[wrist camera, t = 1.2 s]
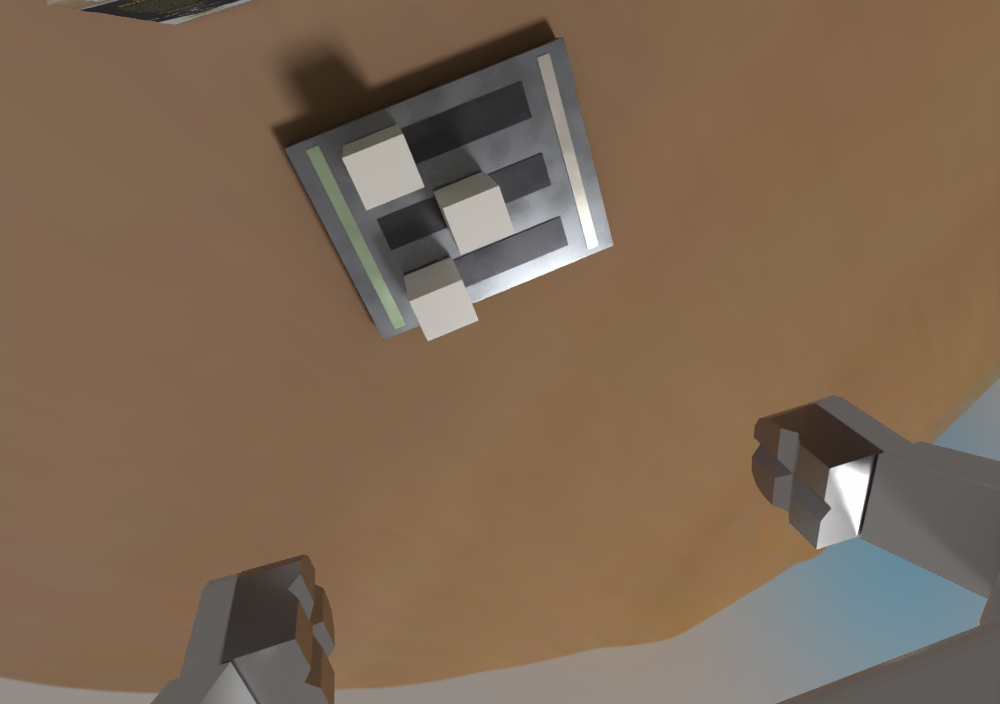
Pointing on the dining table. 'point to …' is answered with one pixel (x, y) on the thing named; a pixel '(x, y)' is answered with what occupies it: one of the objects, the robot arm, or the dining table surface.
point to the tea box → (151, 8)
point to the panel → (453, 157)
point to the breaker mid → (474, 212)
